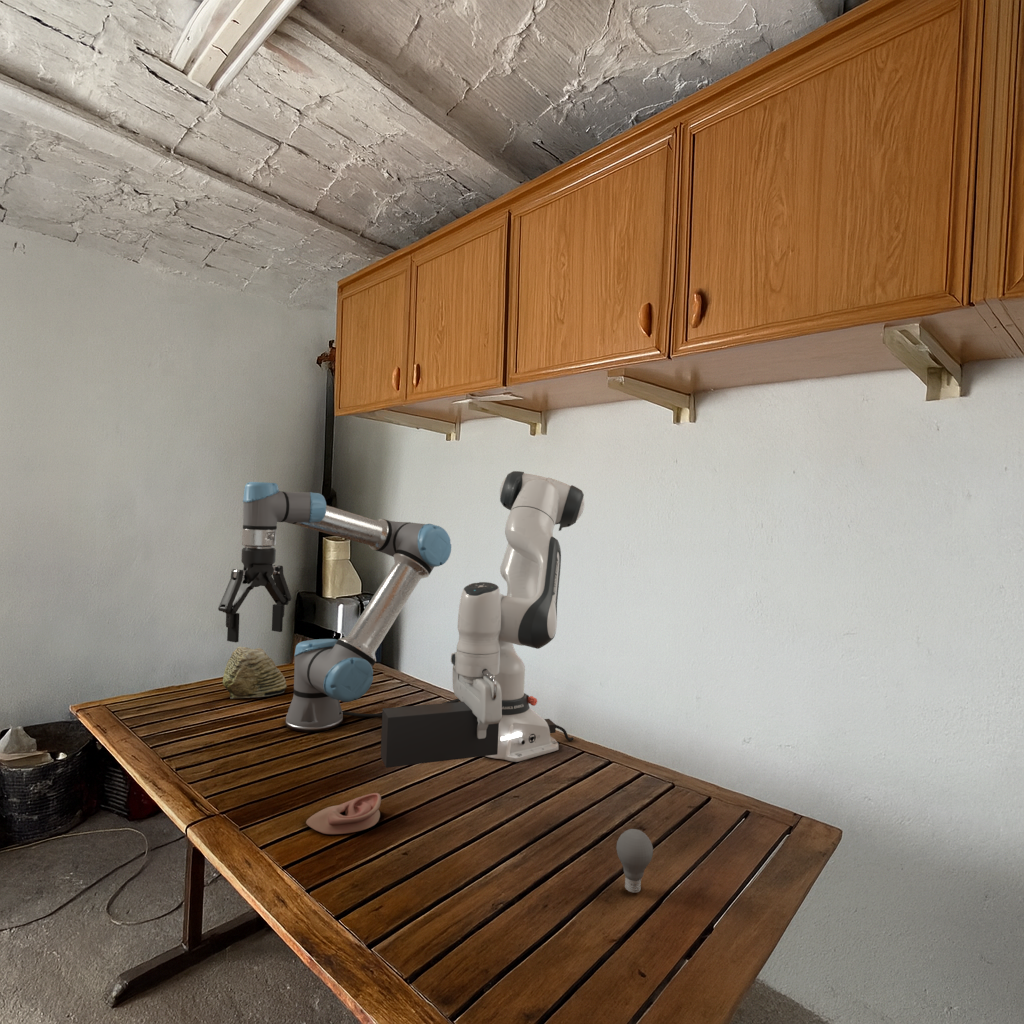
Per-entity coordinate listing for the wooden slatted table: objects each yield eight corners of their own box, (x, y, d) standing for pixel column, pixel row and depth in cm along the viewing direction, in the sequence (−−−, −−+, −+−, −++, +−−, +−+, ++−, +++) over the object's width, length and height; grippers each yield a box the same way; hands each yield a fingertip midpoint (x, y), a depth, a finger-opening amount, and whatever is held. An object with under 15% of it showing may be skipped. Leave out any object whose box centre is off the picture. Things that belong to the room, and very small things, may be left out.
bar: (386, 767, 119) (388, 717, 119) (380, 756, 124) (382, 708, 124) (497, 754, 128) (499, 707, 128) (488, 744, 133) (490, 699, 133)
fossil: (218, 695, 195) (220, 647, 195) (278, 685, 208) (279, 640, 207) (228, 703, 189) (230, 653, 188) (289, 692, 201) (290, 645, 201)
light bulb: (610, 879, 108) (613, 822, 108) (644, 879, 109) (647, 822, 109) (619, 902, 102) (622, 840, 102) (655, 901, 103) (658, 840, 103)
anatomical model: (298, 809, 120) (327, 783, 131) (297, 830, 120) (327, 802, 131) (363, 819, 117) (388, 791, 128) (362, 840, 117) (387, 811, 128)
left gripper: (227, 551, 137) (224, 648, 138) (308, 545, 160) (304, 629, 160) (203, 548, 140) (199, 643, 141) (285, 543, 163) (282, 625, 163)
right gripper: (511, 676, 120) (508, 748, 120) (476, 651, 139) (473, 713, 139) (480, 678, 118) (477, 752, 118) (448, 652, 137) (445, 716, 137)
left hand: (255, 636), depth 151 cm, fingers open, 13 cm apart
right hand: (474, 731), depth 129 cm, fingers closed on bar, 5 cm apart
